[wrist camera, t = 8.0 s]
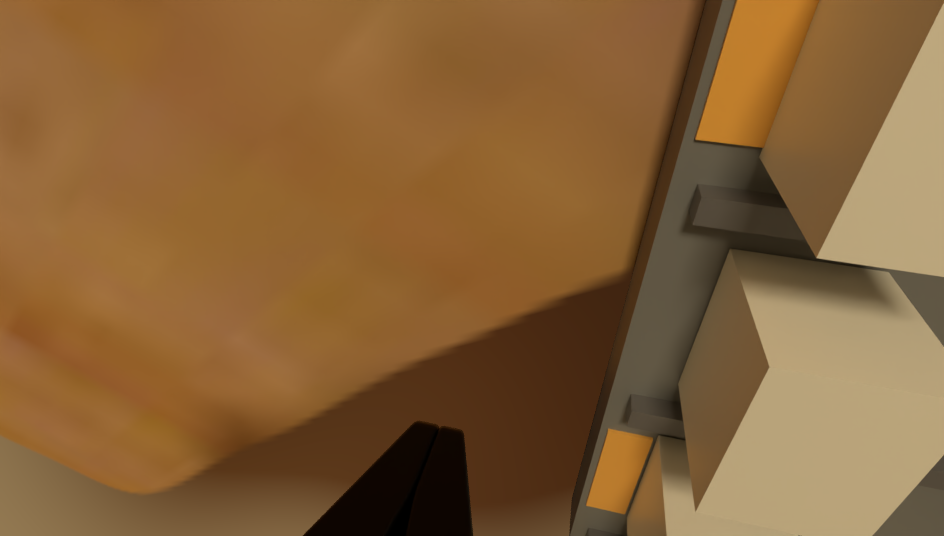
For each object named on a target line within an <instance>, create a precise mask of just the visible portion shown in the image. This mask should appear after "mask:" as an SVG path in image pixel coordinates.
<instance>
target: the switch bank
mask: <svg viewBox="0 0 944 536" xmlns="http://www.w3.org/2000/svg"><path fill="white" fill-rule="evenodd" d="M818 3H819V0H706V3H705V7H704V11H703V14H702V18H701V22H700V25H699V29H698V33H697V37H696V40H695V44H694V48H693V51H692V55H691V59H690V63H689V66H688V70H687V74H686V77H685V81H684V85H683V88H682V92H681V96H680V100H679V103H678V107H677V111H676V114H675V118H674V122H673V126H672V129H671V133H670V137H669V140H668V144H667V148H666V152H665V155H664V159H663V163H662V166H661V170H660V174H659V178H658V181H657V185H656V189H655V192H654V196H653V200H652V204H651V207H650V211H649V215H648V218H647V222H646V226H645V230H644V233H643V237H642V241H641V244H640V248H639V252H638V256H637V259H636V263H635V267H634V270H633V274H632V278H631V281H630V286H629V289H628V293H627V297H626V300H625V304H624V307H623V312H622V315H621V319H620V323H619V326H618V330H617V334H616V337H615V341H614V345H613V348H612V352H611V356H610V359H609V363H608V367H607V371H606V375H605V378H604V382H603V385H602V389H601V393H600V397H599V400H598V404H597V408H596V411H595V415H594V419H593V423H592V426H591V430H590V434H589V438H588V441H587V445H586V449H585V452H584V456H583V460H582V463H581V467H580V471H579V475H578V478H577V482H576V486H575V490H574V493H573V497H572V506H571V519H570V534H569V536H627V516H628V513H629V510H630V508H631V505H632V503H633V500H634V497H635V495H636V492H637V490H638V487H639V484H640V482H641V479H642V477H643V474H644V471H645V469H646V466H647V464H648V461H649V458H650V456H651V453H652V451H653V448H654V445H655V443H656V440H657V437H658V435H660V436H665V437H670V438H675V439H680V440H685V441H686V438H685V431H684V423H683V416H682V408H681V401H680V393H679V386H678V383H679V380H680V378H681V375H682V372H683V370H684V367H685V365H686V362H687V359H688V357H689V354H690V352H691V349H692V346H693V344H694V341H695V339H696V336H697V333H698V331H699V328H700V326H701V323H702V320H703V318H704V315H705V312H706V310H707V307H708V305H709V302H710V299H711V297H712V294H713V292H714V289H715V286H716V284H717V281H718V279H719V276H720V273H721V271H722V268H723V266H724V263H725V260H726V258H727V255H728V253H729V250H730V249H737V250H743V251H750V252H757V253H764V254H770V255H777V256H784V257H790V258H797V259H804V260H811V261H817V262H824V263H831V264H838V265H844V266H851V267H858V268H864V269H871V270H878V271H885V272H889V273H890V275H891V276H892V277H893V279H894V280H895V282H896V283H897V284H898V286H899V287H900V288H901V290H902V291H903V292H904V294H905V295H906V296H907V298H908V299H909V300H910V302H911V303H912V305H913V306H914V307H915V309H916V310H917V311H918V313H919V314H920V315H921V317H922V318H923V319H924V321H925V322H926V323H927V325H928V326H929V328H930V329H931V330H932V332H933V333H934V334H935V336H936V337H937V338H938V340H939V341H940V342H941V344H942V345H943V346H944V277H940V276H933V275H927V274H920V273H913V272H906V271H900V270H893V269H886V268H879V267H873V266H866V265H859V264H852V263H846V262H839V261H832V260H825V259H819V258H816V257H815V255H814V253H813V251H812V250H811V248H810V246H809V244H808V243H807V241H806V239H805V237H804V235H803V234H802V232H801V230H800V228H799V227H798V225H797V223H796V221H795V220H794V218H793V216H792V214H791V212H790V211H789V209H788V207H787V205H786V204H785V202H784V200H783V198H782V197H781V195H780V193H779V191H778V189H777V188H776V186H775V184H774V182H773V181H772V179H771V177H770V175H769V174H768V172H767V170H766V168H765V167H764V165H763V163H762V161H761V159H760V158H759V156H760V154H761V151H762V148H764V146H765V143H766V140H767V138H768V135H769V132H770V130H771V127H772V124H773V122H774V119H775V117H776V114H777V111H778V109H779V106H780V103H781V101H782V98H783V95H784V93H785V90H786V87H787V85H788V82H789V80H790V77H791V74H792V72H793V69H794V66H795V64H796V61H797V58H798V56H799V53H800V50H801V48H802V45H803V43H804V40H805V37H806V35H807V32H808V29H809V27H810V24H811V21H812V19H813V16H814V13H815V11H816V8H817V5H818ZM798 536H800V535H798ZM873 536H944V455H943V456H942V458H941V459H940V460H939V461H938V462H937V463H936V464H935V465H934V467H933V468H932V469H931V470H930V471H929V472H928V473H927V475H926V476H925V477H924V478H923V479H922V480H921V481H920V482H919V484H918V485H917V486H916V487H915V488H914V489H913V490H912V491H911V493H910V494H909V495H908V496H907V497H906V498H905V499H904V500H903V502H902V503H901V504H900V505H899V506H898V507H897V508H896V510H895V511H894V512H893V513H892V514H891V515H890V516H889V517H888V519H887V520H886V521H885V522H884V523H883V524H882V525H881V526H880V528H879V529H878V530H877V531H876V532H875V533H874V534H873Z"/></svg>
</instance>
